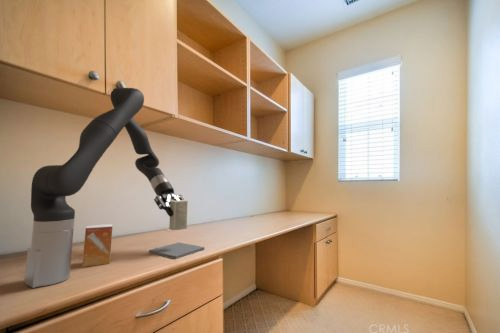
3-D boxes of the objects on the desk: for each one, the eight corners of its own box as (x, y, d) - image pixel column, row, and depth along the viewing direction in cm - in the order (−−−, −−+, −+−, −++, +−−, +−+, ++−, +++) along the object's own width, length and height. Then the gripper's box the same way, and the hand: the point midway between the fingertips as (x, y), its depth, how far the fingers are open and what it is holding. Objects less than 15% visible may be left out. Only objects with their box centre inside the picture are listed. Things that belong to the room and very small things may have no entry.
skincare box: (182, 227, 102) (183, 200, 103) (187, 229, 99) (188, 200, 100) (168, 229, 98) (169, 200, 99) (173, 230, 95) (174, 201, 96)
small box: (82, 267, 77) (85, 227, 78) (83, 262, 82) (85, 225, 83) (110, 263, 81) (112, 226, 82) (109, 258, 86) (111, 223, 87)
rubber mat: (175, 259, 87) (175, 256, 87) (148, 252, 95) (148, 250, 95) (204, 249, 100) (204, 247, 101) (178, 244, 109) (178, 242, 109)
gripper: (152, 180, 99) (169, 210, 92) (178, 181, 111) (195, 207, 104) (144, 192, 101) (160, 222, 94) (170, 192, 113) (186, 218, 106)
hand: (178, 214), depth 99 cm, fingers closed on skincare box, 7 cm apart
